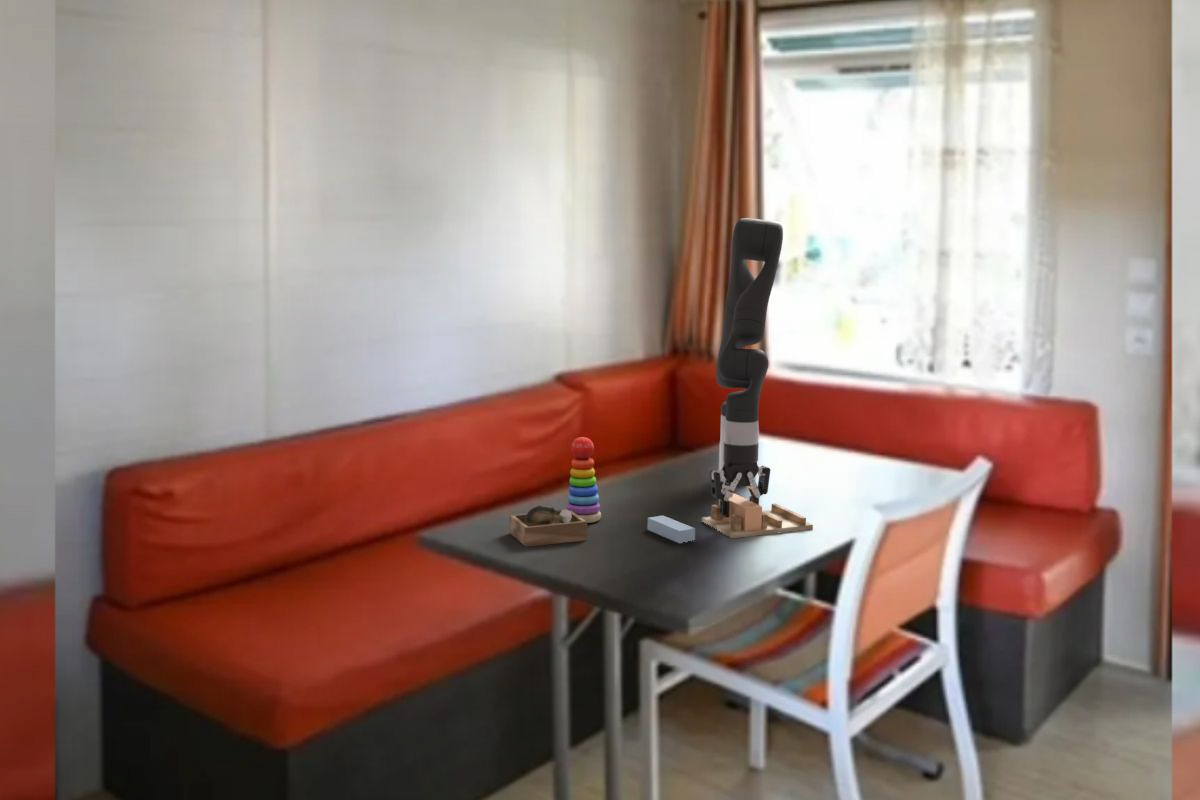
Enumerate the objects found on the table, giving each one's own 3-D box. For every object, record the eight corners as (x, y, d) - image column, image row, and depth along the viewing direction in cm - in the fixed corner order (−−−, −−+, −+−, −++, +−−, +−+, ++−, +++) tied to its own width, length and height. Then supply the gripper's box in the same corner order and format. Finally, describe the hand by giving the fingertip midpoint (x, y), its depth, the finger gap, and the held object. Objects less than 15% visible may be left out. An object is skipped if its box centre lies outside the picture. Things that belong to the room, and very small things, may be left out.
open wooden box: (509, 533, 256) (509, 515, 256) (569, 527, 261) (569, 509, 261) (525, 546, 247) (525, 528, 246) (587, 540, 252) (587, 521, 251)
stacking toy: (606, 516, 270) (606, 435, 267) (594, 525, 263) (594, 442, 259) (573, 513, 273) (573, 433, 269) (560, 522, 265) (560, 439, 262)
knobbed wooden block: (718, 517, 267) (719, 488, 266) (734, 515, 268) (735, 487, 267) (745, 530, 256) (745, 501, 255) (761, 529, 257) (762, 499, 256)
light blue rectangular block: (647, 531, 260) (647, 517, 260) (662, 528, 262) (662, 515, 262) (679, 544, 250) (679, 531, 249) (694, 542, 252) (695, 528, 252)
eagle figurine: (538, 522, 259) (517, 524, 251) (556, 496, 258) (535, 497, 250) (563, 545, 256) (542, 547, 248) (581, 519, 255) (560, 520, 247)
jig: (701, 521, 266) (702, 504, 266) (779, 513, 274) (780, 496, 273) (731, 538, 254) (732, 520, 253) (812, 529, 261) (813, 511, 261)
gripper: (761, 434, 265) (759, 508, 268) (703, 439, 260) (701, 514, 262) (779, 441, 258) (776, 516, 261) (719, 446, 253) (717, 522, 256)
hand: (739, 514), depth 262 cm, fingers open, 6 cm apart
